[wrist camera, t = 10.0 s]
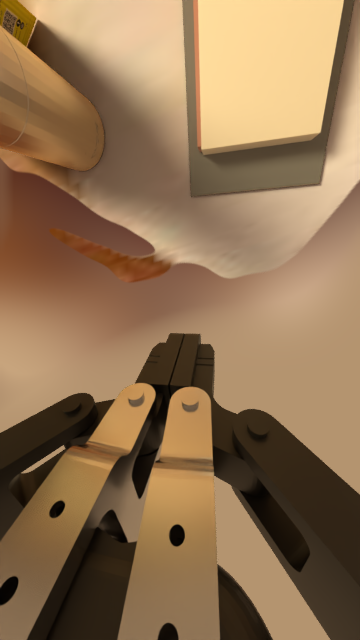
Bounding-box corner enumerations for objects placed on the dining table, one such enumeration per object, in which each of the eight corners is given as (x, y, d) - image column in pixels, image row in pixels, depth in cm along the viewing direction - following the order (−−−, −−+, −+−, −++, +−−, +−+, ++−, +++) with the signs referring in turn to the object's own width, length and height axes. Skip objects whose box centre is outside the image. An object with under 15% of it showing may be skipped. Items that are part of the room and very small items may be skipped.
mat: (318, 183, 29) (319, 183, 29) (191, 196, 33) (191, 196, 32) (392, -206, 17) (395, -215, 17) (177, -120, 20) (176, -126, 20)
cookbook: (320, 132, 24) (382, -217, 15) (197, 150, 27) (189, -138, 18) (310, 140, 27) (359, -155, 18) (199, 155, 30) (193, -94, 21)
